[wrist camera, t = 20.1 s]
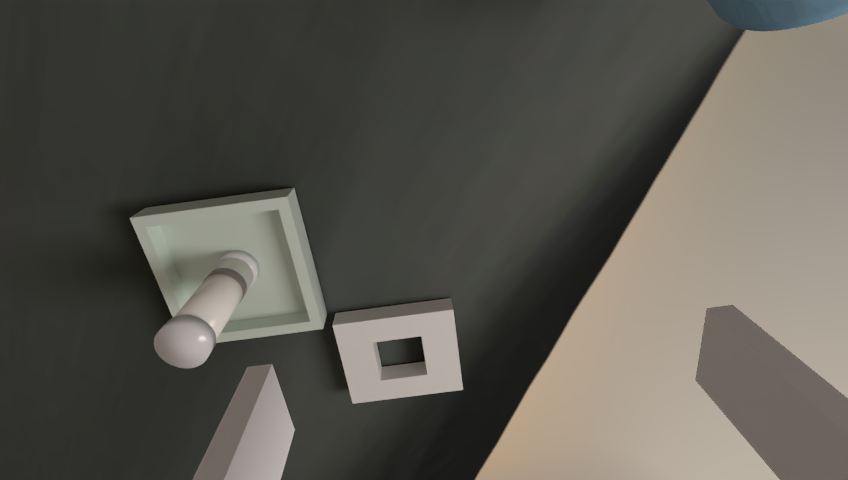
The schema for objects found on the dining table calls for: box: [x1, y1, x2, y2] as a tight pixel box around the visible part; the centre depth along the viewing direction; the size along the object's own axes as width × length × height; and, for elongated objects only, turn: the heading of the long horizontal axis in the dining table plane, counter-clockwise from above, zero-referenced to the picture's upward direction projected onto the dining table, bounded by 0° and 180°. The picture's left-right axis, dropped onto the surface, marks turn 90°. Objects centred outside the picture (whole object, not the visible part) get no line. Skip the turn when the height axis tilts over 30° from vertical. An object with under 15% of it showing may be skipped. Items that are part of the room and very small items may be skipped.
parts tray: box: [130, 188, 327, 343], centre depth 49 cm, size 16×16×3 cm
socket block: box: [332, 298, 463, 404], centre depth 55 cm, size 14×12×2 cm
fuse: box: [154, 250, 260, 368], centre depth 43 cm, size 4×4×14 cm
